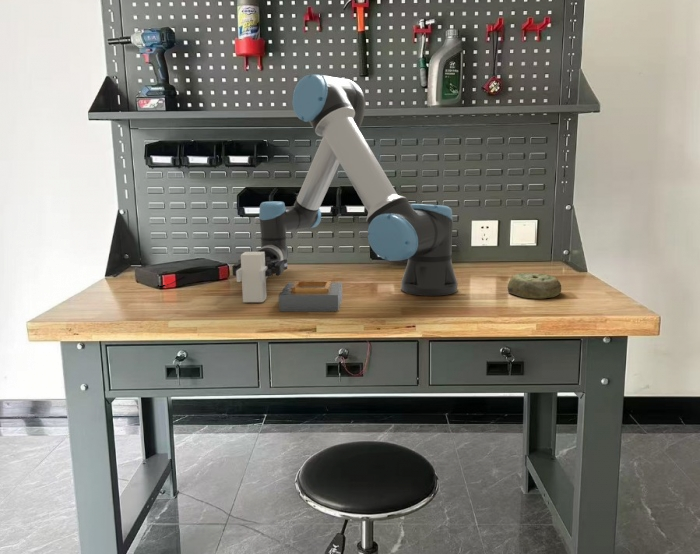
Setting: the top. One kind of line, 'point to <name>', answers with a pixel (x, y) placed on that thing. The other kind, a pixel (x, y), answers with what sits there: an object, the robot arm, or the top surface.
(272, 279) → the top surface
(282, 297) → the jig plate
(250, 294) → the column
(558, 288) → the weight
